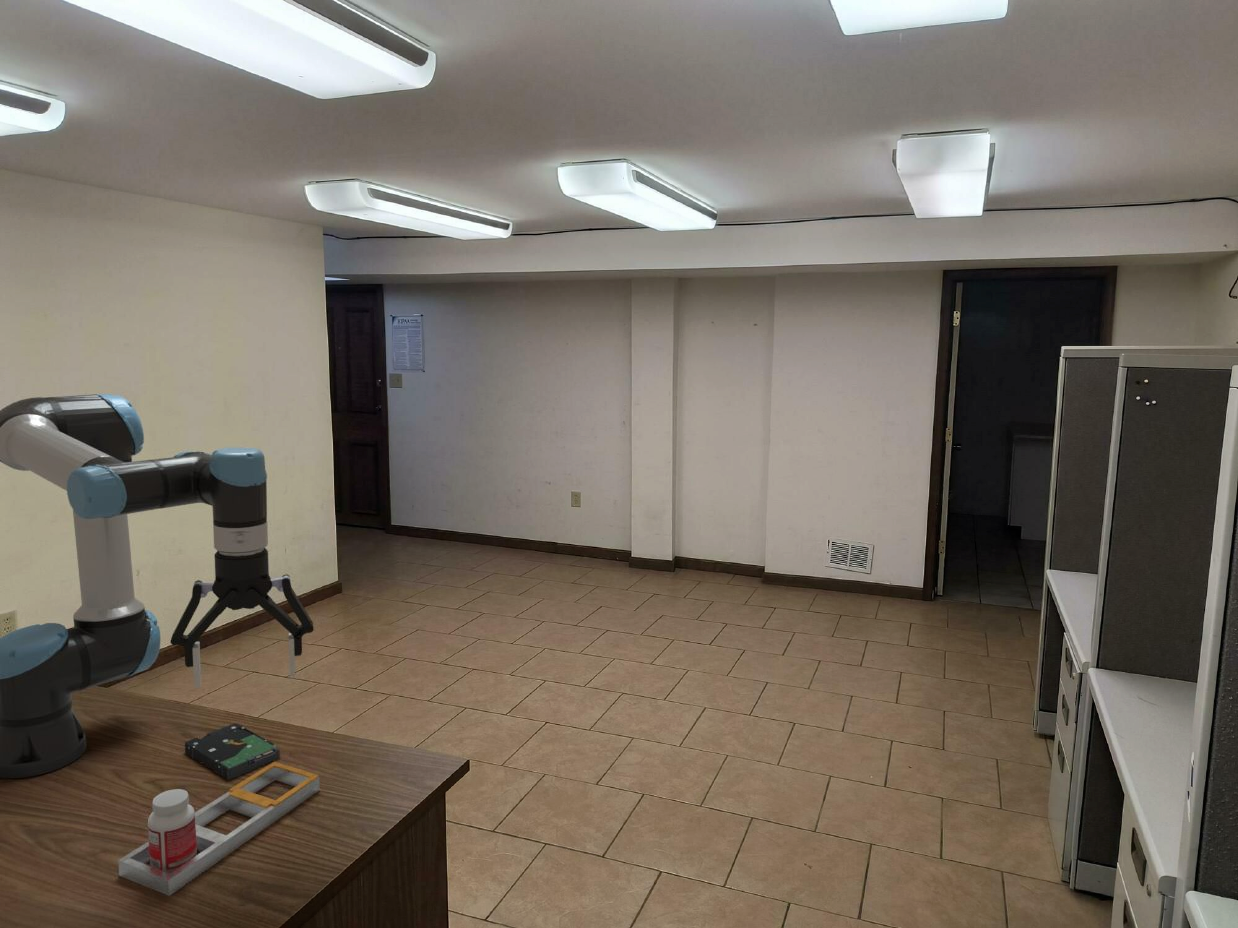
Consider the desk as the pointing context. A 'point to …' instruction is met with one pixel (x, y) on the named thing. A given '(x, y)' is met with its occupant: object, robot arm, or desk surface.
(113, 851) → the desk surface
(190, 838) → the pill bottle
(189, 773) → the desk surface
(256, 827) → the socket rail
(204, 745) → the disk drive
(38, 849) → the desk surface
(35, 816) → the desk surface
